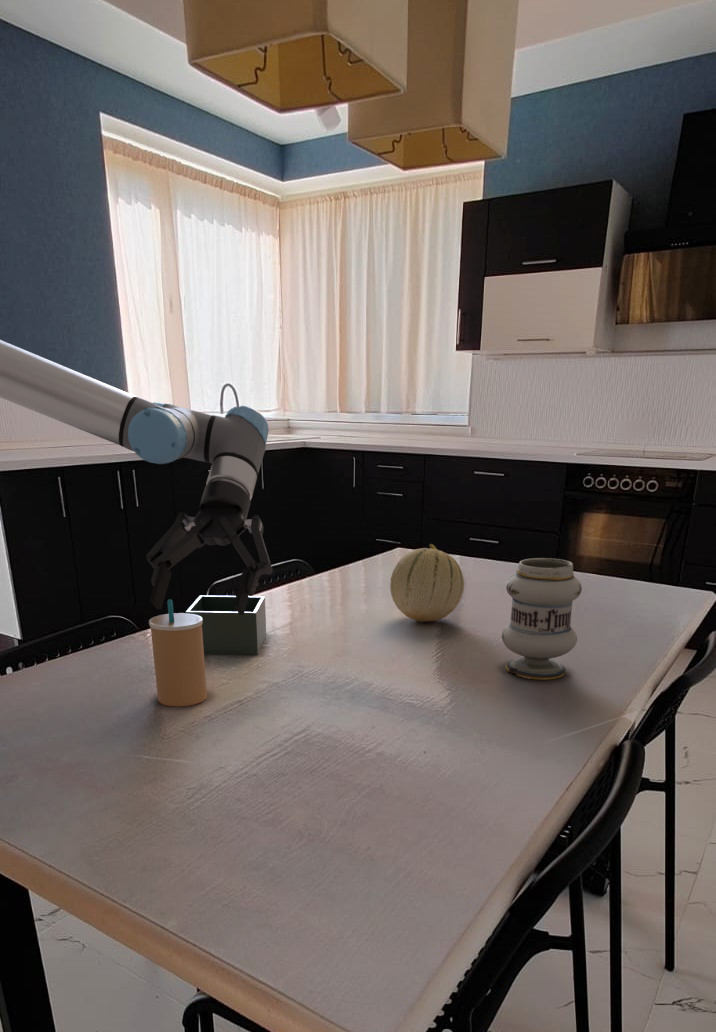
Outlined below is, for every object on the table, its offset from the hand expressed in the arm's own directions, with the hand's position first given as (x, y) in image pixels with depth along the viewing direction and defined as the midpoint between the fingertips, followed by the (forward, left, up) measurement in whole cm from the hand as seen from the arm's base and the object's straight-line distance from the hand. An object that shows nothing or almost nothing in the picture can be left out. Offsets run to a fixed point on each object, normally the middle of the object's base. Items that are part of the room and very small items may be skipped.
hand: (196, 607), depth 116 cm
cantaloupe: (-25, +49, -12) cm, 56 cm away
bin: (-20, +8, -12) cm, 25 cm away
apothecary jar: (+10, +54, -12) cm, 56 cm away
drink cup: (+6, -4, -12) cm, 14 cm away
